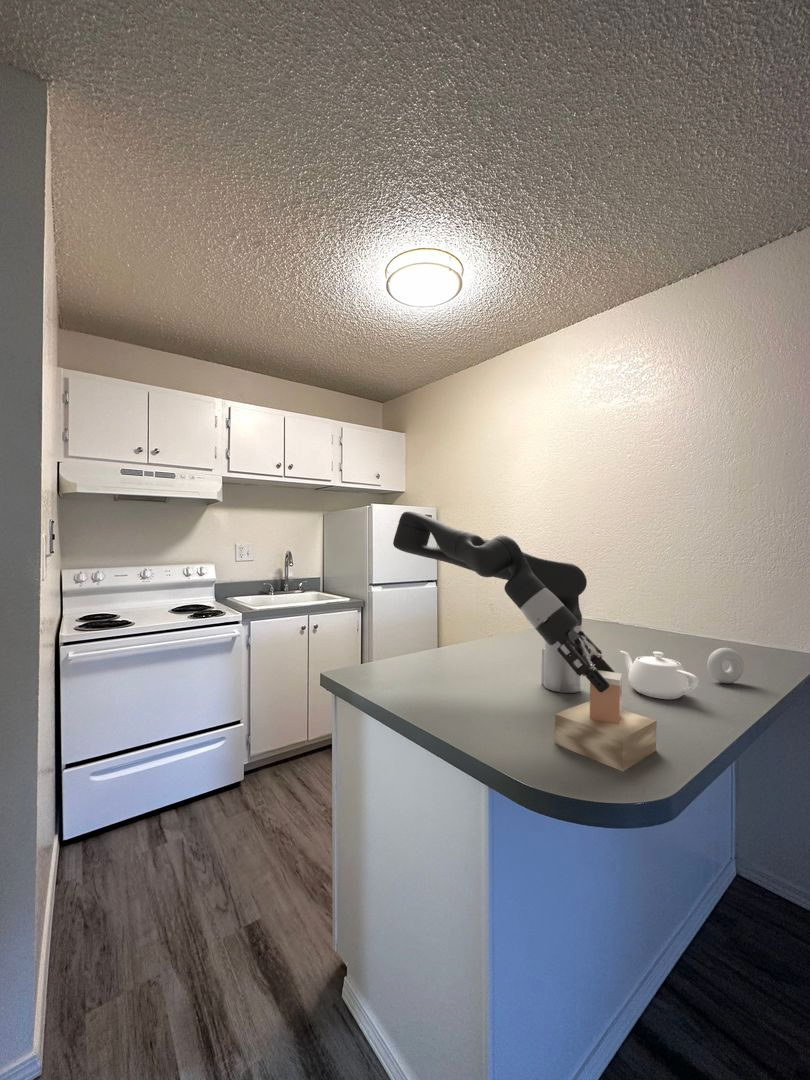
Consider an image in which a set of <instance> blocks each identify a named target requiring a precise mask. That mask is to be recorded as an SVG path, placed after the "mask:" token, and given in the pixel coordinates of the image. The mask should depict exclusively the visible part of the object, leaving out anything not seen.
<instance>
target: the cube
mask: <svg viewBox="0 0 810 1080" xmlns="http://www.w3.org/2000/svg"><path fill="white" fill-rule="evenodd" d="M596 670H597V669H596ZM597 671H598V672H599V673H600V674H601V675H602V676H603V678H604V679H605V680H606V681H607V682H608V683H609V688H608V689H606V690H605V691H603V692H599V691H598V690H597V689H596V688H595V687H594V685H593V684H592V683H591V682H590V681H589V682H590V683H589V701H590V719H594V720H599V721H604V722H609V723H614V724H619V723H620V719H621V710H622V700H623V699H622V696H623V695H622V690H623V688H622V687H623V686H622V685H623V673H620V672H615V671H614V672H608V671H601V670H597Z"/></svg>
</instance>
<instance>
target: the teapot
mask: <svg viewBox="0 0 810 1080" xmlns="http://www.w3.org/2000/svg"><path fill="white" fill-rule="evenodd" d="M619 652H620V653H621V654H622V655H623V658H624V660H625V661H624V663H625V669H626V671H627V674H628V678H627V679H628V683H629V684H630V685H631V686H632V688H633V689H634V690H636V692H638V693H639V694H642V695H644V696H646V697H650V698H656V699H661V700H662V699H663V700H676V699H679V698H681V697H682V696H684V695H685V694H686V693H690V692H692V691H694V690H695V689H696V688H697V687H698V685H699V678H698V676H696V675H695V674H694V673H691V672H688V671H685V670H684V668H683V666H682V663H680V662H679V661H677V660H674V659H672V658H671V659H670V658H667V657H663V656H664V652H662V651H652V653H653V656H652V655H642V656H637V657H636V658H635V660H634V661H633V660H632V658H631V655H630V654H629V653H628V652H627V651H624V650H619ZM688 677H689V678H690V679H691V684H689V679H688Z"/></svg>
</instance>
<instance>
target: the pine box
mask: <svg viewBox="0 0 810 1080" xmlns="http://www.w3.org/2000/svg"><path fill="white" fill-rule="evenodd" d="M657 722H658V721H657V720H656V719H653V718H649V717H647V716H645V715H640V714H637V713H634V712H630V711H626V710H624V709H621V719H620V723H619V724H614V723H609V722H604V721H599V720H594V719H590V700H587V701H586V702H584V703H581V704H578V705H575V706H573V707H569V708H567V709H565V710H563V711H560V712H557V713H555V714H554V744H555V745H557V746H560V747H562V748H565V749H567V750H569V751H572V752H574V753H577V754H579V755H581V756H584V757H587V758H589V759H591V760H594V761H596V762H598V763H601V764H604V765H606V766H608V767H610V768H613V769H616V770H617V771H620V772H624V771H626V770H628V769H629V768H631V767H633V766H634V765H636V764H637V763H639V762H640V761H642V760H643V759H645V758H647V757H648V756H650V755H651V754H653V753H654V752H657Z"/></svg>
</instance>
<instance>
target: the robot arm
mask: <svg viewBox="0 0 810 1080" xmlns="http://www.w3.org/2000/svg"><path fill="white" fill-rule="evenodd" d="M431 535H432V537H433V538H434V540H435V542H436V544H437V546H428V544H429V540H430V537H431ZM392 545H393V546H394V548H395V549H397V550H399V551H401V552H404V553H406V554H407V553H408V554H410V555H411V554H412V555H416V556H419V557H424V558H426V559H427V558H428V559H431V560H437V561H440V562H443V563H448V564H451V565H453V566H457V567H460V568H463V569H466V570H468V571H472V572H475V573H476V574H477V575H479V576H480V577H483V578H496V579H502V580H505V581H507V582H505V585H504V589H503V590H504V592H505V593H506V596H508V597H509V599H510V600H511V601H512V602H513V604H515V606H517V608H518V609H519V610H520V611H521V613H522V614H523V615H524V617H525V618H526V620H527V621H528V622H529V624H530V625H531V626H532V627H533V628H534V629H535V630H536V631H537V633H538V634H539V635H540V636H541V637H542V639H544V647H543V648H542V650H541V680H540V681H541V684H542V685H543V687H544V688H545V689H547V690H550V691H553V692H558V693H563V694H565V693H566V694H570V693H571V694H573V693H578V692H580V691H581V685H582V684H581V681H582V680H581V678H582V677H585V678H587V680H588V681H589V682H591V683H592V684H593V685H594V687H595V688H596V689H597V690H598V691H599V692H603V691H605V690H606V689H608V688H609V683H608V682H607V681H606V680H605V679H604V678H603V676H602V675H601V674H600V673H599V672H598V671H597V670H601V671H608V672H615V670H614V669H613V668H612V667H611V666H610V665H609V664H608V663H607V661H606V660H605V659H604V657H603V655H602V654H603V652H602V651H601V649H600V648H598V646H597V645H595V643H594V642H593V641H592V640H591V639H590V638H589V636H588V635H586V634H585V632H584V631H583V630H582V629H583V615H582V612H581V609H580V608H581V607H580V603H579V600H580V599H579V597H580V595H582V594H583V593H584V591H585V590H586V588H587V582H588V581H587V577H586V574H585V573H584V571H583V570H582V569H581V568H580V567H579V566H577V565H576V564H574V563H570V562H564V561H562V562H561V561H560V562H559V561H554V560H549V559H544V558H540V557H537V556H533V555H531V554H529V553H526V552H524V551H522V550H521V548H520V546H519V543H517V542H516V540H515V539H513V538H511V536H510V537H509V536H508V535H504V534H503V535H498V536H496V537H494V538H492V539H487V538H483V537H481V536H480V535H478V534H475V533H472V532H469V531H465V530H461V529H458V528H455V527H452V526H450V525H448V524H446V523H445V522H444V523H443V522H441V521H439V520H437V519H435V518H432V517H430V516H428V515H425V514H422V513H419V512H415V511H404V512H403V513H401V515H400V518H399V520H398V525H397V527H396V530H395V534H394V538H393V543H392ZM581 676H582V677H581Z"/></svg>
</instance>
